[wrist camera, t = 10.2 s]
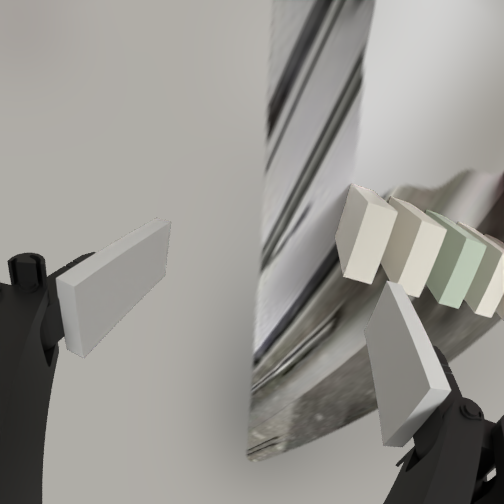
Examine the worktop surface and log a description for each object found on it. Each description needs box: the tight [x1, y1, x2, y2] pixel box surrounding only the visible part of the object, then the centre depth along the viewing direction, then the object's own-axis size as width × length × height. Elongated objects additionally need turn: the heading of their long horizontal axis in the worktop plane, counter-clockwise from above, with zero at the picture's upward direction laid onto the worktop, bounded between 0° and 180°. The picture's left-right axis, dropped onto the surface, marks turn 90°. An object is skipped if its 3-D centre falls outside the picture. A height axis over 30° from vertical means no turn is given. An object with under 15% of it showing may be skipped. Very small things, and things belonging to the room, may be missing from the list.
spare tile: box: [425, 209, 487, 309], centre depth 25 cm, size 6×2×10 cm, turn 168°
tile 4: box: [457, 222, 504, 318], centre depth 25 cm, size 6×2×10 cm, turn 168°
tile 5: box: [484, 233, 504, 321], centre depth 24 cm, size 6×2×10 cm, turn 167°
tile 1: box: [335, 184, 398, 284], centre depth 26 cm, size 6×2×10 cm, turn 168°
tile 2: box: [380, 196, 447, 298], centre depth 26 cm, size 6×2×10 cm, turn 168°
